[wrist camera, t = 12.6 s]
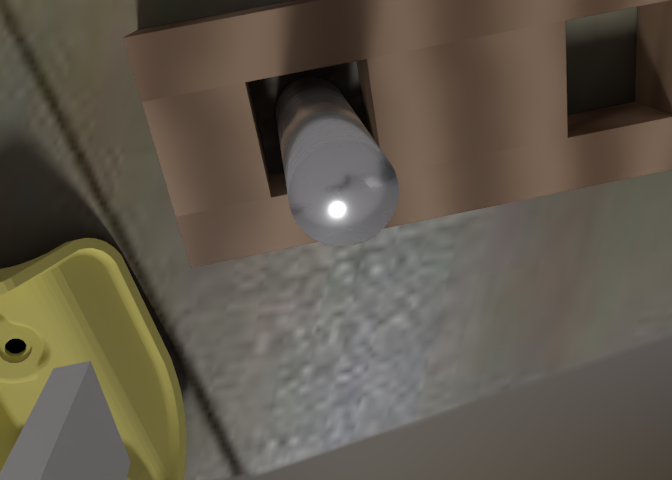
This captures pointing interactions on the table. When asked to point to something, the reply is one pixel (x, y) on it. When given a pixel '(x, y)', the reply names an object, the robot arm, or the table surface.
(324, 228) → the steel pin
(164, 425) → the plastic component
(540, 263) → the table surface
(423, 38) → the brown block with holes
